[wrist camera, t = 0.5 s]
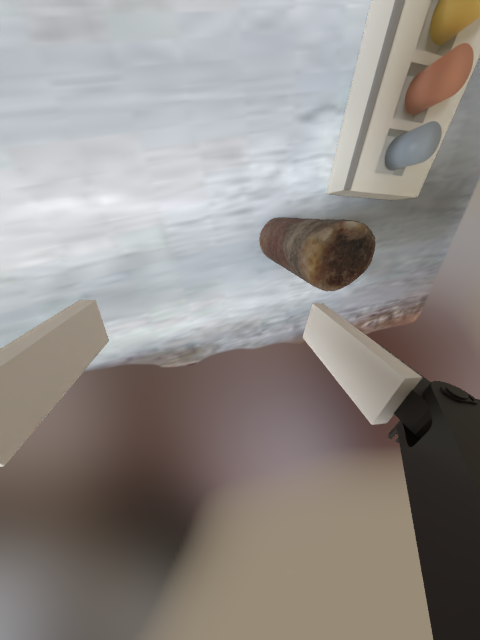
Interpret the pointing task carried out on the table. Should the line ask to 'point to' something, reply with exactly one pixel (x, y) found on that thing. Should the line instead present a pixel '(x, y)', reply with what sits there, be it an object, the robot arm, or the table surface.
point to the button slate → (413, 146)
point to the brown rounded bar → (319, 249)
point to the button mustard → (452, 18)
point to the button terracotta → (439, 79)
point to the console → (391, 99)
